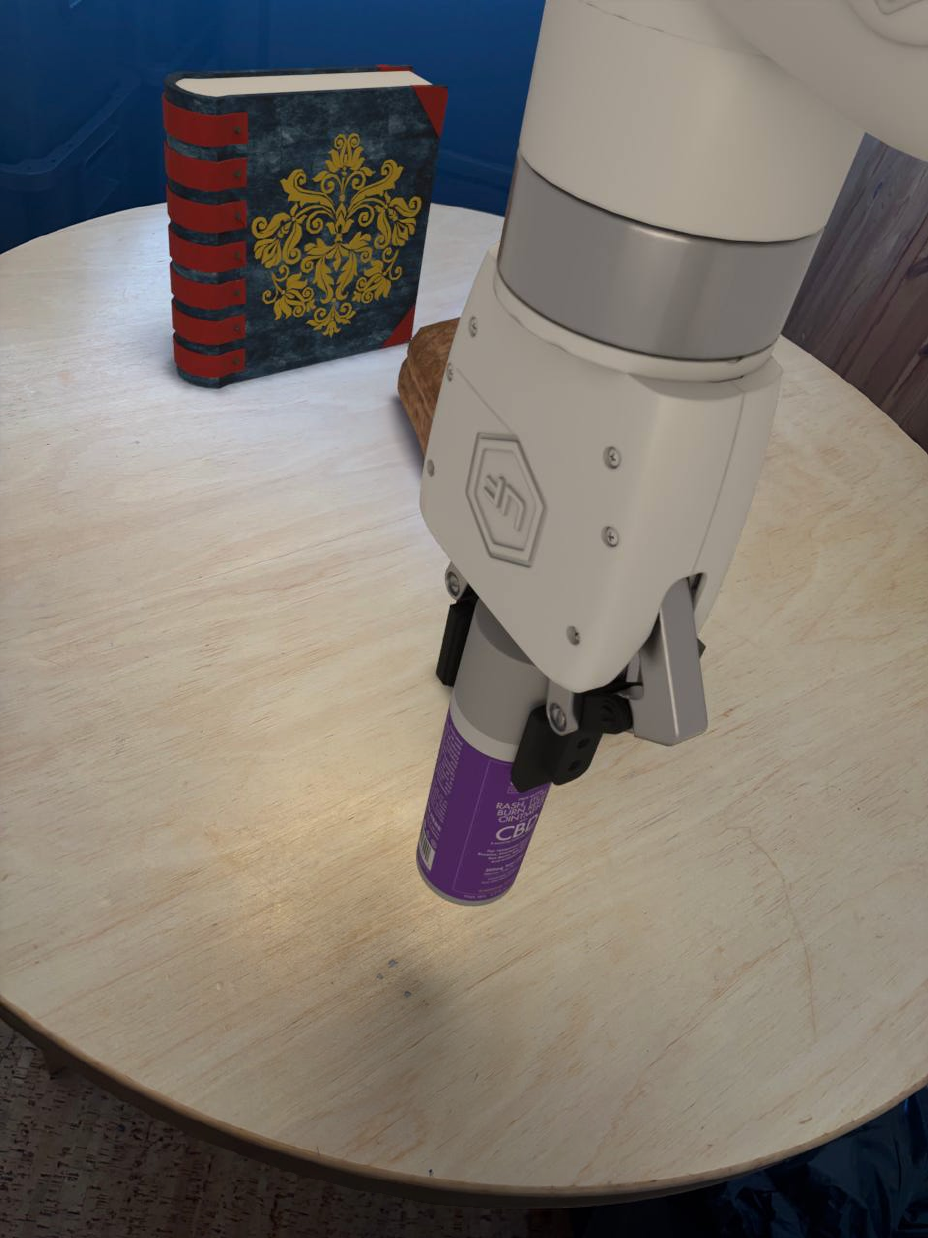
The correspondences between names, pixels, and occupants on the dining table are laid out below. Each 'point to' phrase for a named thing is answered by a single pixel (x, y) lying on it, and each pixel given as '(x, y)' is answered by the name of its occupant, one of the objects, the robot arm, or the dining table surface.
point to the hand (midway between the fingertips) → (509, 718)
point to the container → (482, 772)
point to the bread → (425, 374)
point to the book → (295, 213)
